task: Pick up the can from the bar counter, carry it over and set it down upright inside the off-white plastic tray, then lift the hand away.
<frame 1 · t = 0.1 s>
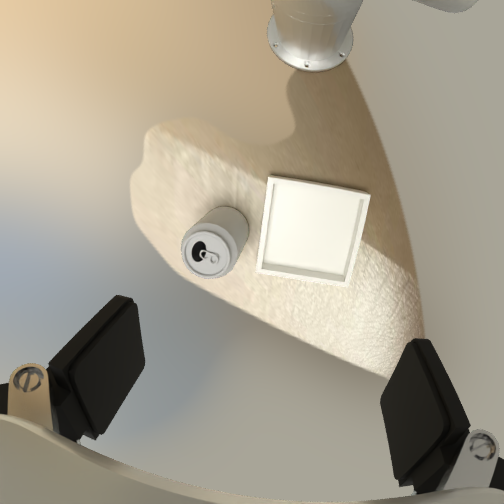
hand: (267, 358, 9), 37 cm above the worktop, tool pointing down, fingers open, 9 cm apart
tray: (310, 229, 45), on the worktop
can: (226, 228, 47), on the worktop
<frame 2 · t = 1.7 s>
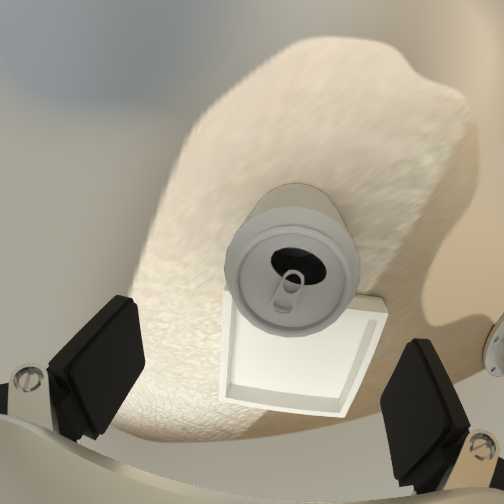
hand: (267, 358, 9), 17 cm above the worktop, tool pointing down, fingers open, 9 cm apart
tray: (295, 348, 30), on the worktop
can: (296, 224, 26), on the worktop
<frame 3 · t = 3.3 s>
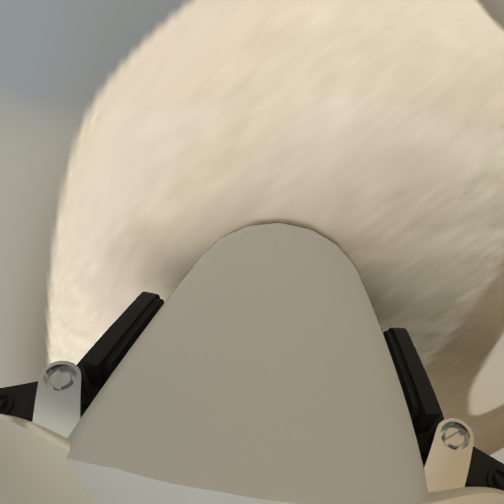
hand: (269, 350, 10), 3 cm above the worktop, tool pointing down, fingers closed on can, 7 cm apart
can: (276, 298, 13), on the worktop, touching gripper
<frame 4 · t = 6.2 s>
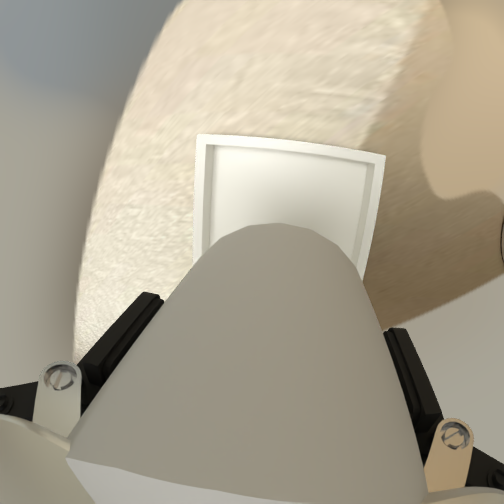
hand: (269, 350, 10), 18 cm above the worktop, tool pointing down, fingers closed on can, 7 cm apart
tray: (283, 223, 26), on the worktop
can: (276, 298, 13), point 14 cm above the worktop, touching gripper
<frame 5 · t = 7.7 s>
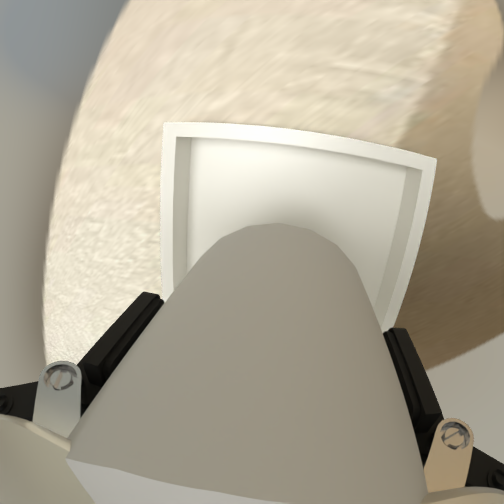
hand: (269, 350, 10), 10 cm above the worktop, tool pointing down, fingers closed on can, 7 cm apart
tray: (287, 248, 19), on the worktop
can: (276, 298, 13), point 6 cm above the worktop, touching gripper
when the fingers open (6 cm above the worktop, at t = 9.1 s): can drops 1 cm, resting on tray.
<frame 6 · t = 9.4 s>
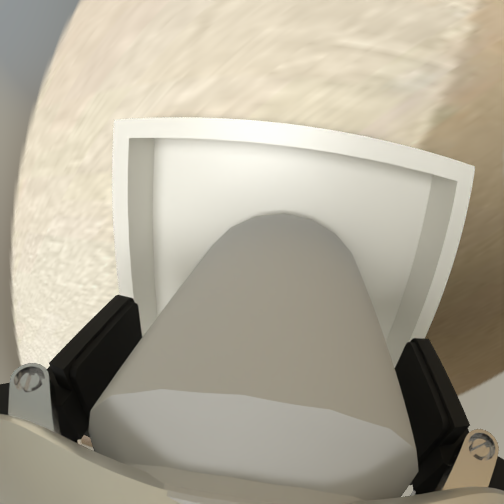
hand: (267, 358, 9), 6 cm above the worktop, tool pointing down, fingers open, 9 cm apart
tray: (279, 278, 15), on the worktop
can: (281, 282, 15), resting on tray
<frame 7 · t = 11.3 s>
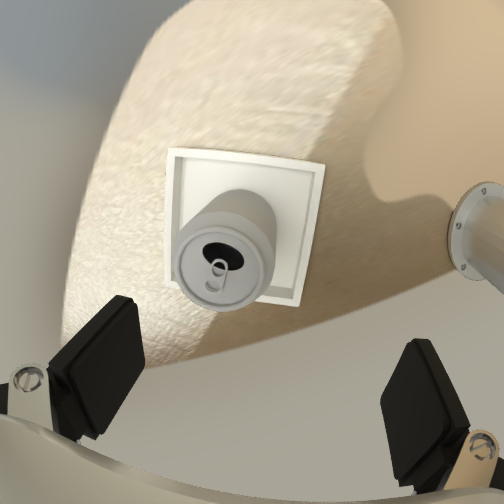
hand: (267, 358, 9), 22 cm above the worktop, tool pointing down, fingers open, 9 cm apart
tray: (240, 222, 31), on the worktop
can: (240, 223, 31), resting on tray
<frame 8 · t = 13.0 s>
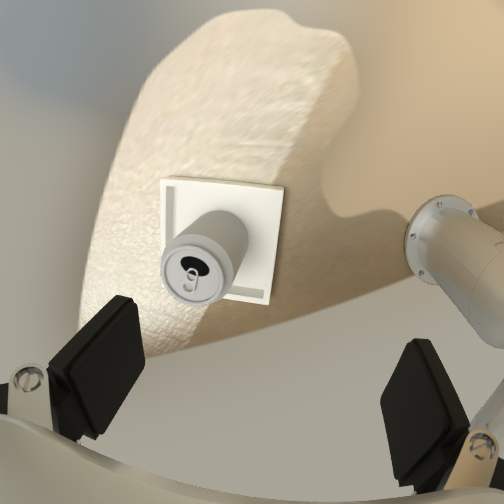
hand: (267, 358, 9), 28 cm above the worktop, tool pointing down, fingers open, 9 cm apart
tray: (221, 236, 38), on the worktop
can: (221, 237, 38), resting on tray
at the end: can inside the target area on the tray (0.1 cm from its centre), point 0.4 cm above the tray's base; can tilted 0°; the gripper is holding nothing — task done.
